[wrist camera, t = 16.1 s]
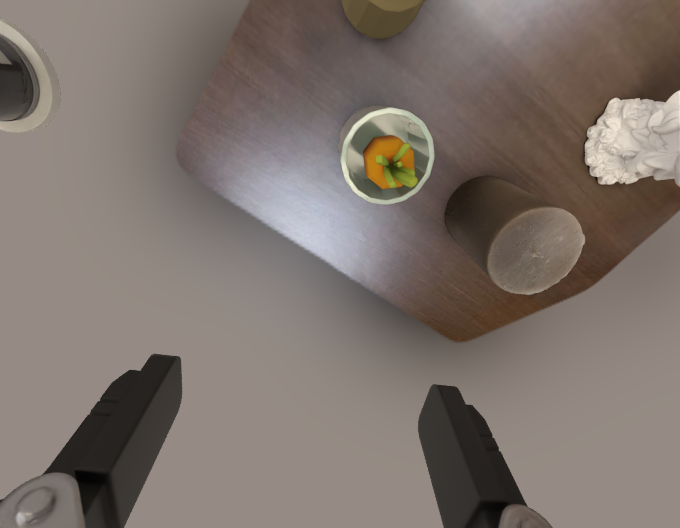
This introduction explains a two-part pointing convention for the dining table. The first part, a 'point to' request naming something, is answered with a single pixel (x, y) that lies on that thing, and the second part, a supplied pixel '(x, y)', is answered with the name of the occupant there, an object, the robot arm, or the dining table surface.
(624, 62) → the dining table surface
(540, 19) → the dining table surface
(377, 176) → the carrot
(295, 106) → the dining table surface
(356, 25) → the squeeze bottle
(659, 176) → the cherub figurine
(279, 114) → the dining table surface
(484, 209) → the pillar candle
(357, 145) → the tumbler
